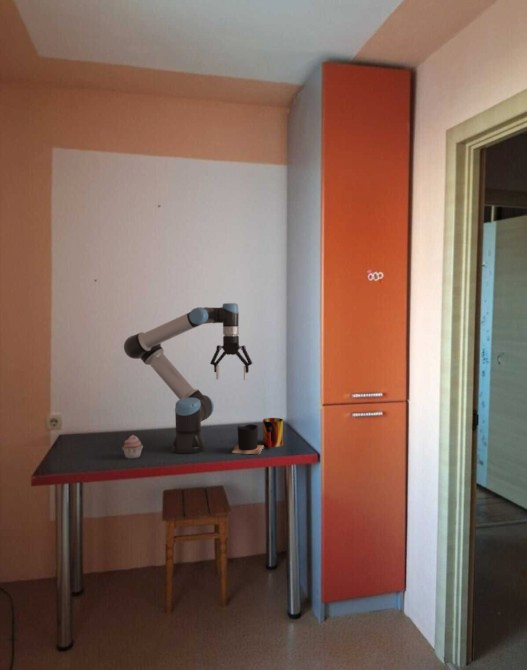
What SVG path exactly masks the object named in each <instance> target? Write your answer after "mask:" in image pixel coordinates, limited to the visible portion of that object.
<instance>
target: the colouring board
mask: <svg viewBox="0 0 527 670" xmlns="http://www.w3.org/2000/svg"><path fill="white" fill-rule="evenodd" d="M264 448H265V446H264V445H263V444H257V448H256V449H254V450H241V449H239V446H238V444H237V445H236V446H235V447H234V448H233V450H232V451H231V454H232V453H244V454H258V455H257V456H260V455H261V453H262V452H263V450H264ZM262 449H263V450H262ZM261 451H262V452H261ZM259 454H260V455H259Z"/></svg>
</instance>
